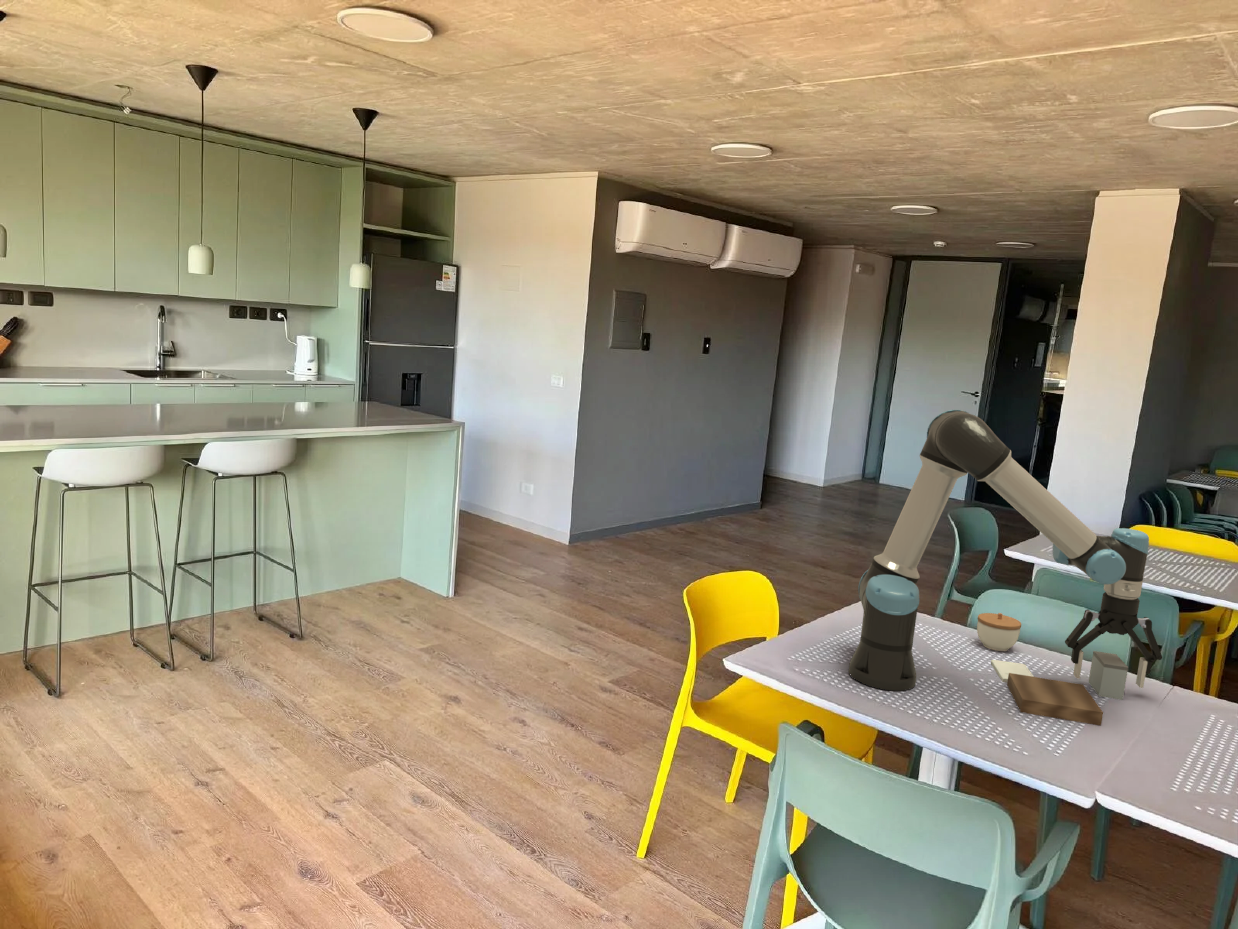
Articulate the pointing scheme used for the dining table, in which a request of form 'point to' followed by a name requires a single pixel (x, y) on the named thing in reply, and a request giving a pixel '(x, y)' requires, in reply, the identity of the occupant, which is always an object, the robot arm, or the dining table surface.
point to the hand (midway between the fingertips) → (1107, 681)
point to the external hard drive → (1009, 669)
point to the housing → (1108, 675)
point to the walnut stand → (1054, 699)
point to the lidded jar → (998, 631)
